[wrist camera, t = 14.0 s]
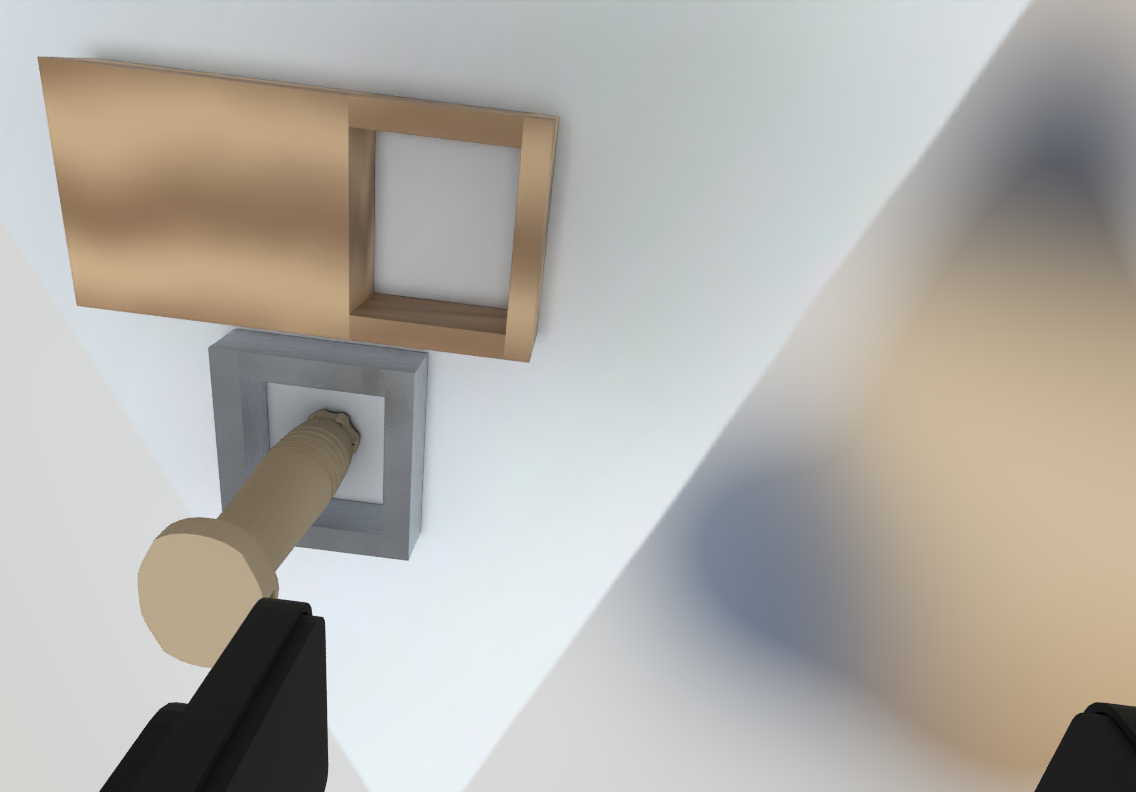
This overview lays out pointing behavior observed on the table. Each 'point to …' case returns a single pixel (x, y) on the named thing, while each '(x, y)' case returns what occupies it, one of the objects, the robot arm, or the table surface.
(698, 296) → the table surface
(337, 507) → the collar
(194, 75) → the wooden box
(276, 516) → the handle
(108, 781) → the robot arm
